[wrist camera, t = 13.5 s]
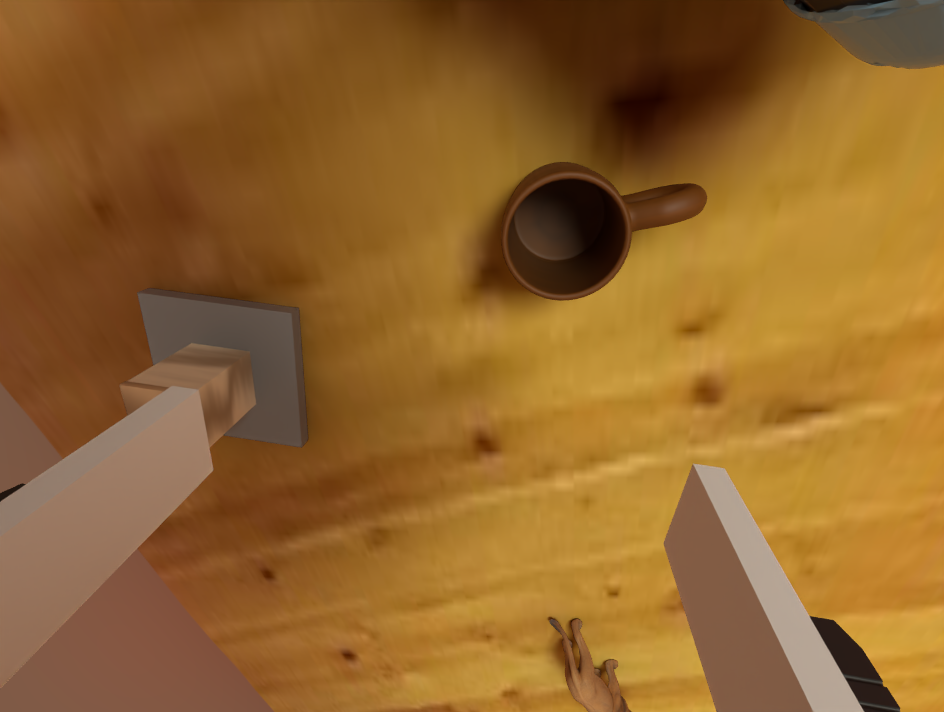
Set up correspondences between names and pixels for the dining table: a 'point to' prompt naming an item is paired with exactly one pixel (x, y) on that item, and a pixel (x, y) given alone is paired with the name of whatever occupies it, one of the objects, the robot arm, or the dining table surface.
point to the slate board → (241, 328)
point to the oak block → (200, 384)
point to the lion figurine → (590, 676)
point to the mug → (581, 227)
